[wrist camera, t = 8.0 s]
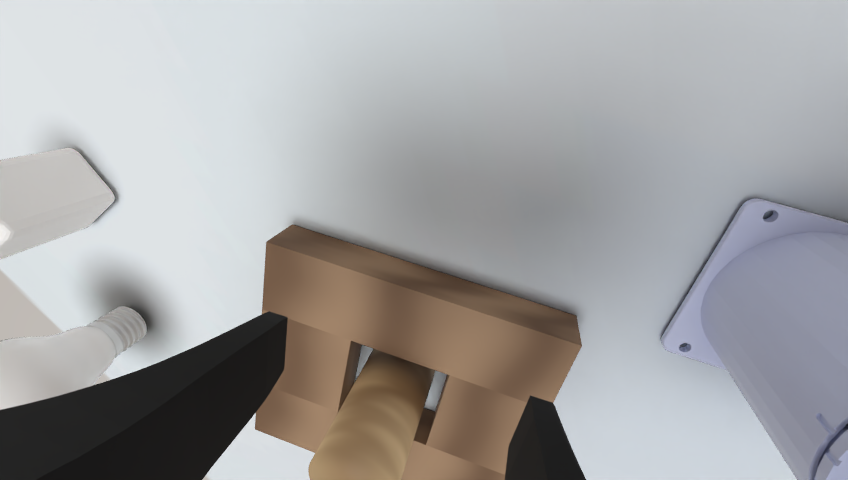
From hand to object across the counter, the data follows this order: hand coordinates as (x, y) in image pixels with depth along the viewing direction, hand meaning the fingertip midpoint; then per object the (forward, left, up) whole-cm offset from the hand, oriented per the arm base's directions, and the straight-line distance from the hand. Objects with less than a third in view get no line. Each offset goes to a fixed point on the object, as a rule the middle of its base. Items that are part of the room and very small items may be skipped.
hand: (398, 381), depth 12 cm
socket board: (+1, +9, -10) cm, 14 cm away
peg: (+1, +9, -10) cm, 14 cm away
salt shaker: (+23, +4, -11) cm, 26 cm away
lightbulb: (+20, +13, -11) cm, 26 cm away
